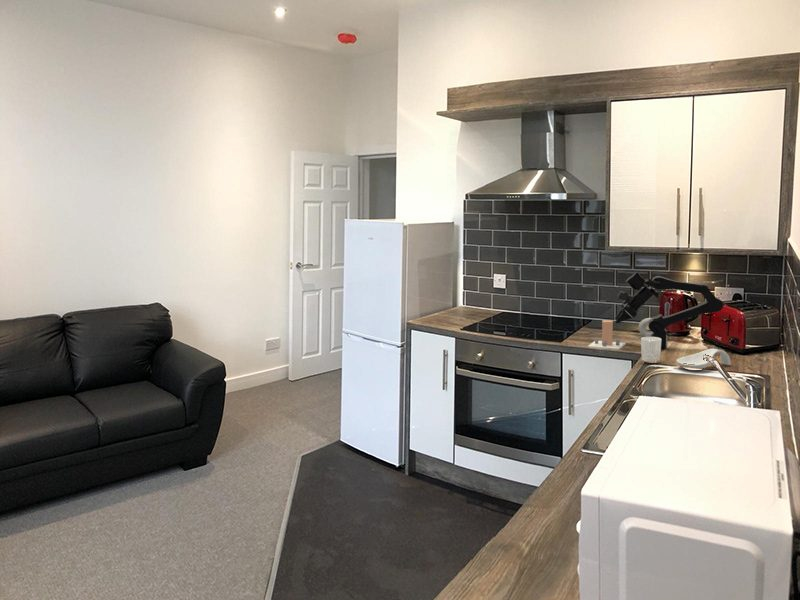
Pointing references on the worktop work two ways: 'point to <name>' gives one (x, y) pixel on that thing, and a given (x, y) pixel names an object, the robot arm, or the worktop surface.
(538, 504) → the worktop surface
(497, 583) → the worktop surface
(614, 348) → the peg board
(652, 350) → the white cup
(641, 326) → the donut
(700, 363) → the spoon rest
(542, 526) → the worktop surface
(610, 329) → the terracotta block
